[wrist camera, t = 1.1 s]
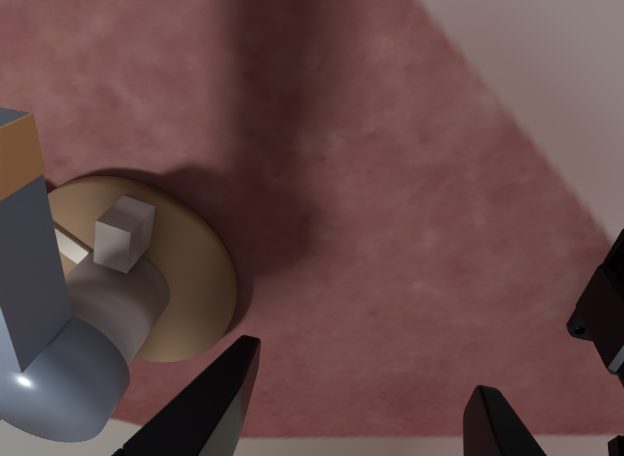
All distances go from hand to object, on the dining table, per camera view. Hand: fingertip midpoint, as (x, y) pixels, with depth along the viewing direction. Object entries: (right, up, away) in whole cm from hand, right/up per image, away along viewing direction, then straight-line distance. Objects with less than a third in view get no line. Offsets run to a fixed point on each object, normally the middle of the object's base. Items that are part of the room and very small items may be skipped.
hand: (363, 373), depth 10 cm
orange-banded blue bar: (-12, +1, +8) cm, 14 cm away
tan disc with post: (-11, +1, +16) cm, 19 cm away
